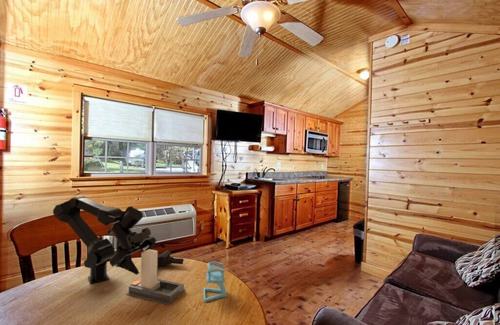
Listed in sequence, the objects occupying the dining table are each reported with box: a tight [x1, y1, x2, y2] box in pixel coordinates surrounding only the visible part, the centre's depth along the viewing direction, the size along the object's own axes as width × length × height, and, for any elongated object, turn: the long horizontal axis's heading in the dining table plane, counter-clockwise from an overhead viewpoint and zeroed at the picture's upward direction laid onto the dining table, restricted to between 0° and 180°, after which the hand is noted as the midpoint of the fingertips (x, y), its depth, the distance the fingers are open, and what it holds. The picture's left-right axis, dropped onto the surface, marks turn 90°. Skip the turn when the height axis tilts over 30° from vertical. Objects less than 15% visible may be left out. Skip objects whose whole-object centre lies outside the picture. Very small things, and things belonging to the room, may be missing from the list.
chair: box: [203, 260, 227, 303], centre depth 89 cm, size 8×8×12 cm
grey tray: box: [126, 277, 186, 306], centre depth 90 cm, size 18×10×3 cm, turn 73°
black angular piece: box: [157, 249, 185, 267], centre depth 113 cm, size 5×20×15 cm
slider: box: [137, 249, 160, 290], centre depth 91 cm, size 6×5×14 cm
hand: (147, 268), depth 91 cm, fingers open, 9 cm apart
